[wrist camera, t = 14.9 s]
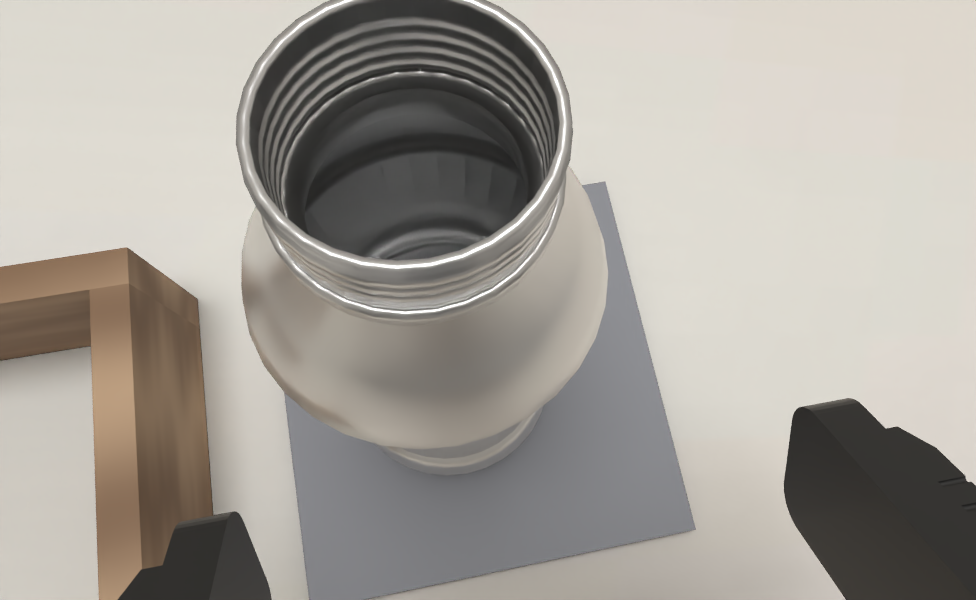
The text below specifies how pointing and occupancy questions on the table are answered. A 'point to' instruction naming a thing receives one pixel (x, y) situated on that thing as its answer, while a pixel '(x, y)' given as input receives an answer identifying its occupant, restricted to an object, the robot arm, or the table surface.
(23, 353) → the walnut stall
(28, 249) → the table surface
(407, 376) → the plastic bottle
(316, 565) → the charcoal mat
